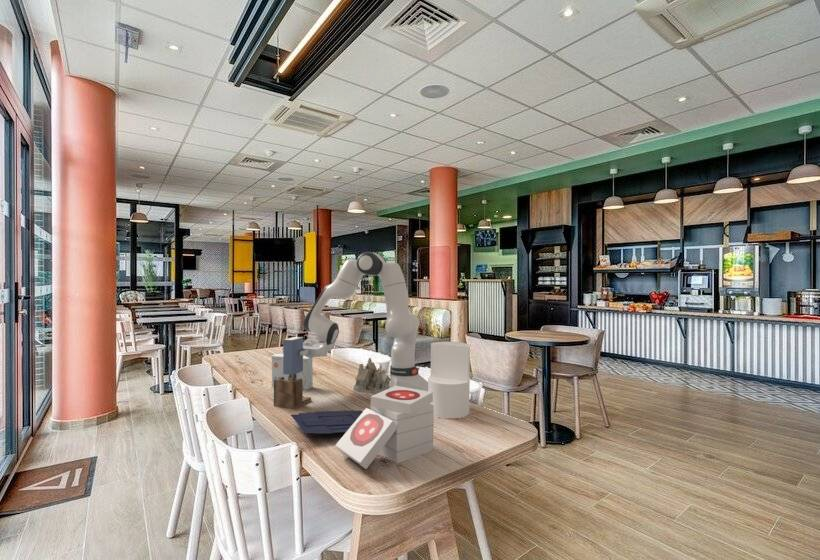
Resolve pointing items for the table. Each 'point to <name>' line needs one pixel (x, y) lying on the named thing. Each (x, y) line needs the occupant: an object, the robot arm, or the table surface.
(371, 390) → the grey rock
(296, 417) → the navy flat slab
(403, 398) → the pizza boxes
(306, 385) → the skincare box
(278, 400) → the shelf
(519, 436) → the table surface
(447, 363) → the cylinder
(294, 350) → the tall blue pillar
